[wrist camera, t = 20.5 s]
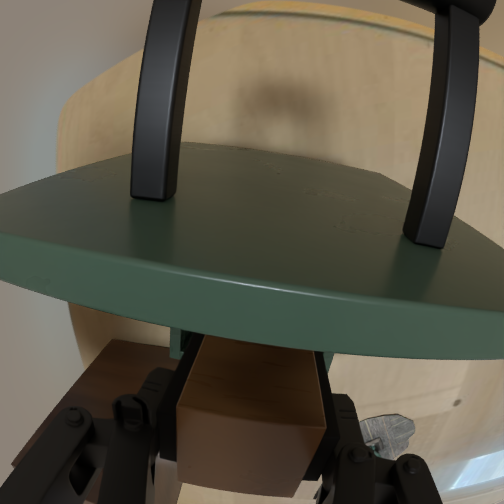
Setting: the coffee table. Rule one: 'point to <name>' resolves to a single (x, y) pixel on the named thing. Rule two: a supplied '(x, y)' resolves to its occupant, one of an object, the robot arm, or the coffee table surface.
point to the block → (249, 418)
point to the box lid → (272, 224)
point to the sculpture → (387, 435)
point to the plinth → (103, 394)
